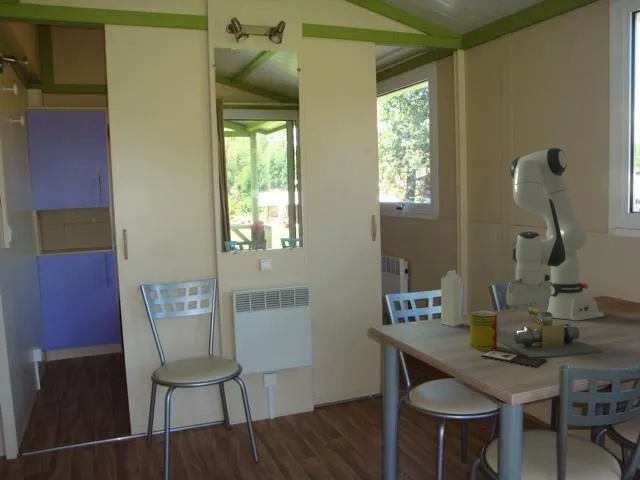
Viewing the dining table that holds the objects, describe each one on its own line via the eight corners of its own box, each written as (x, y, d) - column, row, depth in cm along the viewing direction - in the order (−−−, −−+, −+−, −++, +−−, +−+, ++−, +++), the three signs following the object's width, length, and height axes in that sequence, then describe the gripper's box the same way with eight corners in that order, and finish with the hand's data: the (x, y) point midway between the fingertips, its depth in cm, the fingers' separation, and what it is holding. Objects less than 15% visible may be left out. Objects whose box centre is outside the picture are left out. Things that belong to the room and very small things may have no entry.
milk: (462, 324, 235) (462, 270, 233) (453, 326, 231) (453, 272, 229) (449, 321, 239) (449, 268, 237) (441, 324, 235) (440, 270, 233)
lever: (555, 322, 198) (555, 313, 198) (543, 323, 198) (543, 314, 198) (536, 313, 213) (536, 304, 213) (525, 313, 213) (525, 305, 213)
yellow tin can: (491, 352, 196) (491, 317, 195) (466, 348, 202) (465, 314, 200) (500, 345, 203) (500, 312, 202) (476, 342, 209) (476, 309, 207)
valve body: (568, 338, 207) (569, 318, 206) (582, 345, 199) (582, 323, 198) (511, 343, 203) (511, 322, 202) (523, 350, 195) (523, 328, 194)
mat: (561, 334, 214) (561, 333, 214) (601, 352, 192) (601, 350, 192) (496, 340, 210) (496, 338, 210) (529, 358, 188) (529, 357, 187)
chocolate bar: (535, 366, 179) (481, 355, 191) (535, 369, 179) (481, 358, 191) (546, 359, 185) (493, 349, 197) (546, 362, 185) (493, 352, 197)
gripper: (516, 281, 200) (516, 321, 201) (554, 275, 210) (554, 312, 212) (501, 279, 205) (501, 317, 206) (539, 273, 216) (539, 309, 217)
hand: (528, 315), depth 209 cm, fingers closed
